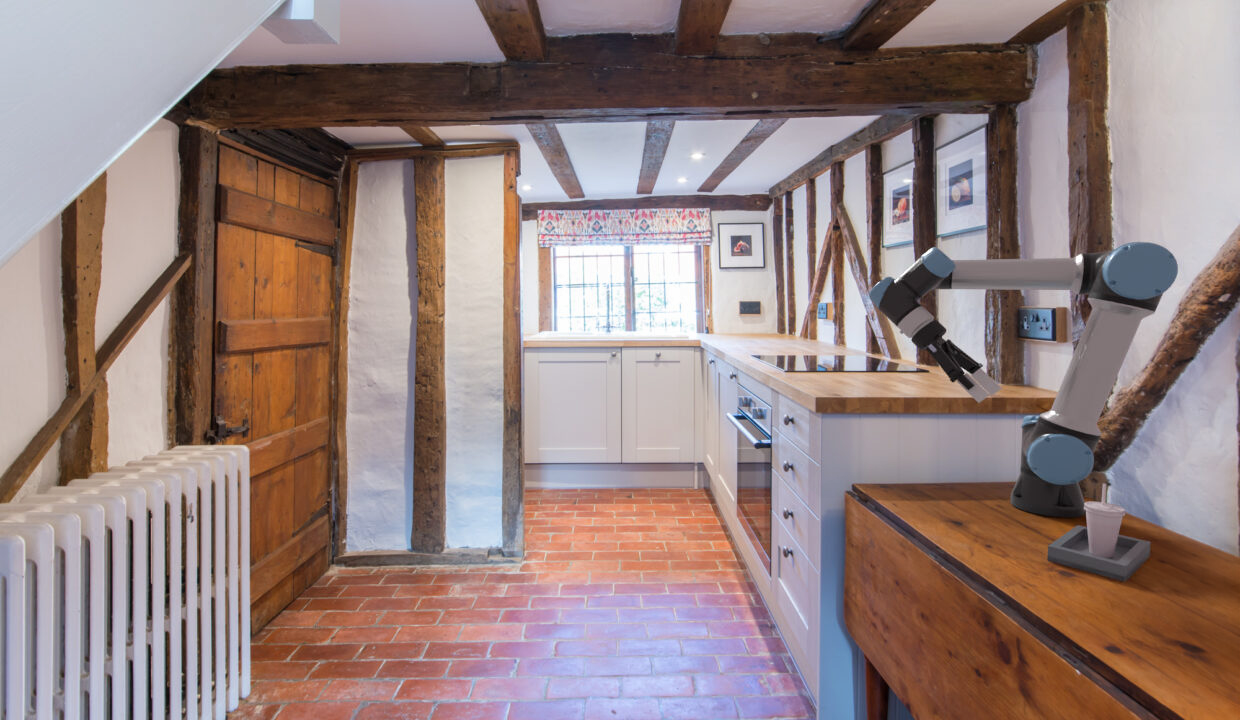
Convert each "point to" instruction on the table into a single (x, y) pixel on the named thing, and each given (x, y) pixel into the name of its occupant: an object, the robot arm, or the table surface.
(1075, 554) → the tray
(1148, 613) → the table surface
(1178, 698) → the table surface
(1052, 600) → the table surface
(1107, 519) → the smoothie
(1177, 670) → the table surface
